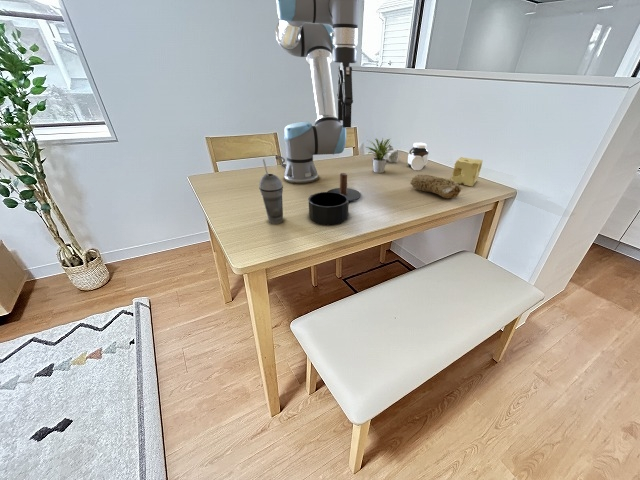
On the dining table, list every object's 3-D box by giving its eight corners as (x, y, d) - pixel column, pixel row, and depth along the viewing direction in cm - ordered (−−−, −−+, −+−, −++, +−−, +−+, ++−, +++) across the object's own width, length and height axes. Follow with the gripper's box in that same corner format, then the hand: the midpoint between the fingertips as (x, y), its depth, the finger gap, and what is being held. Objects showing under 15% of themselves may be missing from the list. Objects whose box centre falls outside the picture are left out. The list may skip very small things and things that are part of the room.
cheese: (472, 187, 126) (479, 164, 120) (449, 182, 130) (454, 160, 124) (477, 181, 133) (483, 159, 127) (454, 176, 138) (460, 155, 132)
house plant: (374, 165, 151) (377, 132, 141) (397, 170, 144) (401, 136, 135) (360, 171, 141) (361, 136, 132) (383, 176, 135) (387, 140, 125)
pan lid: (324, 190, 117) (323, 169, 112) (357, 189, 119) (357, 168, 114) (327, 204, 105) (327, 180, 100) (364, 202, 108) (365, 179, 102)
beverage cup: (281, 226, 89) (273, 163, 78) (260, 224, 91) (249, 161, 79) (290, 217, 95) (283, 157, 84) (270, 215, 96) (261, 155, 85)
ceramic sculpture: (391, 148, 146) (373, 144, 157) (389, 164, 151) (372, 160, 161) (405, 146, 152) (387, 142, 162) (403, 162, 156) (386, 158, 167)
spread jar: (420, 164, 155) (423, 141, 148) (432, 169, 146) (437, 146, 140) (401, 165, 151) (404, 143, 144) (413, 171, 142) (417, 148, 136)
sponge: (460, 199, 116) (428, 176, 127) (466, 183, 110) (431, 161, 121) (437, 210, 112) (405, 186, 123) (441, 194, 106) (408, 170, 117)
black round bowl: (308, 209, 101) (307, 192, 97) (344, 207, 103) (344, 191, 99) (310, 226, 90) (309, 208, 86) (351, 224, 92) (351, 206, 89)
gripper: (329, 48, 94) (330, 117, 106) (337, 44, 74) (337, 130, 86) (350, 49, 95) (349, 117, 107) (364, 45, 75) (361, 130, 87)
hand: (344, 123), depth 97 cm, fingers open, 13 cm apart
